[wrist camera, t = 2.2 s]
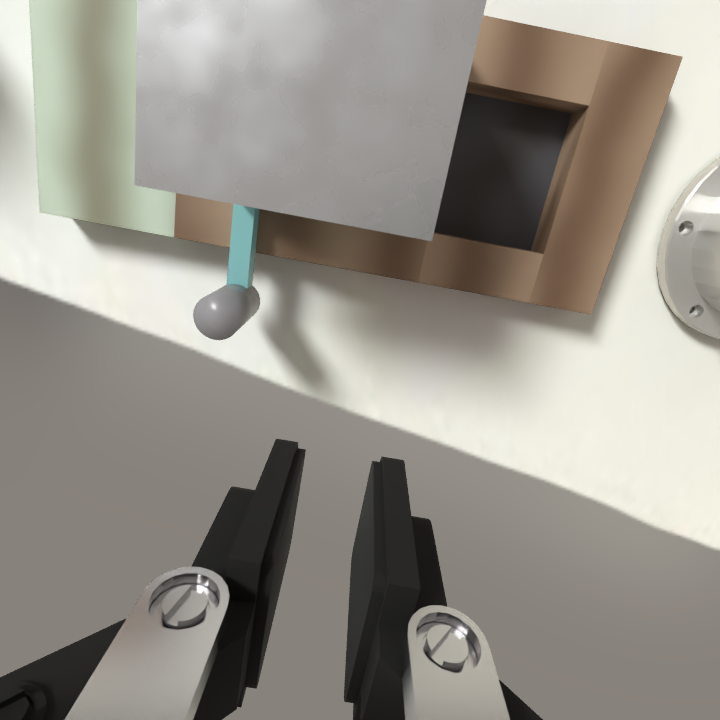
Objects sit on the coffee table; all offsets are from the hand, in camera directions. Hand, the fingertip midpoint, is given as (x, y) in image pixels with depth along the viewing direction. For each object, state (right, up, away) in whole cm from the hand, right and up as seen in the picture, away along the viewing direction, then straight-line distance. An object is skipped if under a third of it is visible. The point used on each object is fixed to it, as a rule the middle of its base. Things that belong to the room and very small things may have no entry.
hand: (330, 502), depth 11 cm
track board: (-1, +17, +17) cm, 24 cm away
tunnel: (-1, +17, +14) cm, 22 cm away
